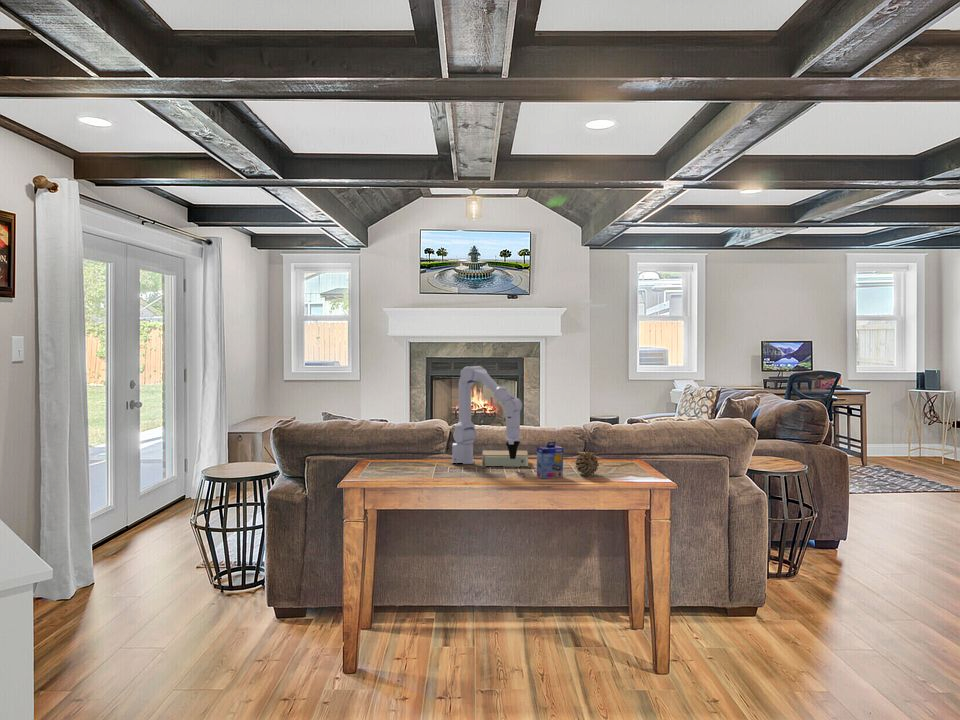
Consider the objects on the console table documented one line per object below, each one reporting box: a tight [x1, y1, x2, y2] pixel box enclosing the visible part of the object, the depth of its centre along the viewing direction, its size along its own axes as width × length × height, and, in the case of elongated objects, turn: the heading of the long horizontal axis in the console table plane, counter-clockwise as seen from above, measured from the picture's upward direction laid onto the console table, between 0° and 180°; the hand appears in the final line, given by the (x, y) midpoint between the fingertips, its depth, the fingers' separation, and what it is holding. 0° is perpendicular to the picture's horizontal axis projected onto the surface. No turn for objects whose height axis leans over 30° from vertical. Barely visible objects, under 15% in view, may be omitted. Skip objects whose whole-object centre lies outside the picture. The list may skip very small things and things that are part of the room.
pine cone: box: [574, 451, 600, 476], centre depth 274 cm, size 22×10×10 cm, turn 2°
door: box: [482, 456, 526, 467], centre depth 288 cm, size 18×2×4 cm, turn 88°
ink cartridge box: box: [536, 441, 564, 480], centre depth 267 cm, size 10×6×14 cm, turn 113°
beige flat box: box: [481, 449, 529, 468], centre depth 295 cm, size 20×12×5 cm, turn 88°
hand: (512, 458), depth 282 cm, fingers closed
